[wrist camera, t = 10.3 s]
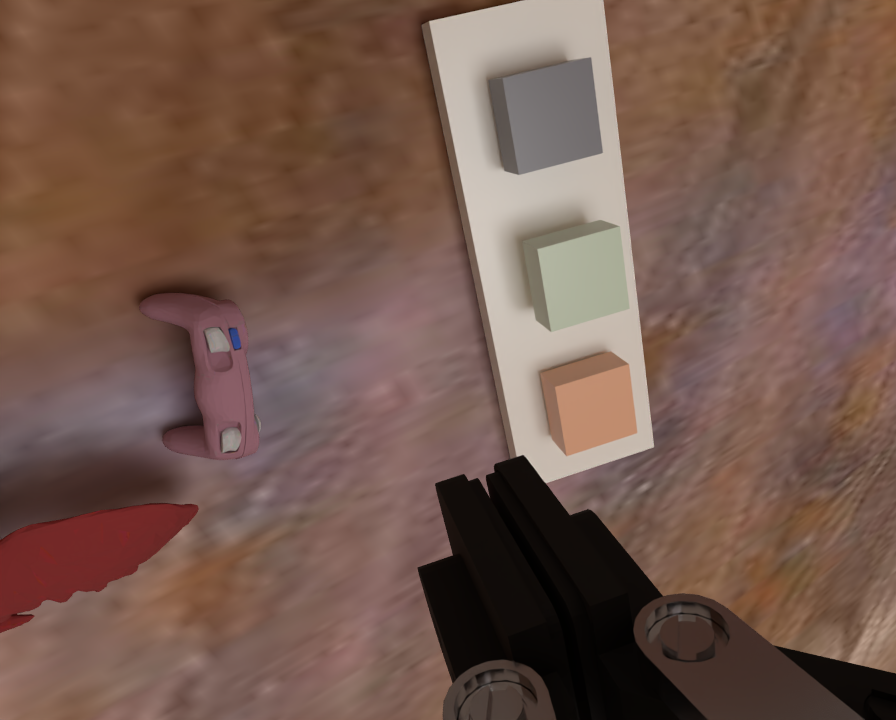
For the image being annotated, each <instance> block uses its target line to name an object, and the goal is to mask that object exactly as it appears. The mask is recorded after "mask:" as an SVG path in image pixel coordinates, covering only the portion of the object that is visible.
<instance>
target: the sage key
mask: <svg viewBox="0 0 896 720" xmlns="http://www.w3.org/2000/svg"><path fill="white" fill-rule="evenodd" d="M522 244H523V250H524V255H525V261H526V267H527V273H528V278H529V284H530V290H531V296H532V301H533V307H534V313H535V319H536V321H537V322H539V323H540V324H541V325H543V326H544V327H545V328H546V329H548V330H549V331H550V332H554V331H557V330H560V329H564V328H567V327H570V326H574V325H577V324H580V323H584V322H587V321H590V320H594V319H597V318H600V317H604V316H607V315H610V314H614V313H617V312H620V311H624V310H627V309H630V307H629V299H628V291H627V282H626V274H625V265H624V257H623V248H622V240H621V232H620V226H618V225H615V224H612V223H609V222H606V221H603V220H597V221H594V222H590V223H586V224H583V225H579V226H576V227H572V228H568V229H565V230H561V231H557V232H554V233H550V234H547V235H543V236H539V237H536V238H532V239H528V240H525V241H522Z"/></svg>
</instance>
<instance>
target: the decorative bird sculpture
mask: <svg viewBox="0 0 896 720" xmlns="http://www.w3.org/2000/svg"><path fill="white" fill-rule="evenodd" d="M198 509H199V508H198V506H197V505H194V504H184V505H179V504H169V503H150V504H144V505H137V506H130V507H125V508H120V509H109V510H100V511H96V512H92V513H87V514H83V515H79V516H75V517H71V518H67V519H61V520H56V521H50V522H43V523H37V524H32V525H29V526H26V527H23V528H21V529H18V530H16V531H14V532H12V533H10V534H9V535H7V536H6V537H4V538H3V539H1V540H0V633H2V632H4V631H7V630H9V629H12V628H15V627H18V626H20V625H22V624H24V623H26V622H29V621H30V620H31V619H32V618H33V617H34V615H31V614H29V615H17V613H21V612H25V611H30V610H33V609H35V608H37V607H39V606H40V605H41V603H42V602H43V601H45V600H53V601H56V602H60V603H62V602H66V601H67V600H68V599H69V598H70V597H71V596H72V594H73V593H74V592H76V591H78V590H79V591H85V592H88V591H96V592H99V591H101V590H103V589H104V588H105V587H106V586H107V583H108V582H110V581H113V580H117V579H119V578H122V577H124V576H127V575H131V574H133V573H134V572H135V571H137V569H138V565H139V564H141V563H143V562H145V561H147V560H148V559H149V558H150V557H152V556H153V555H154V554H156V553H157V552H158V551H159V550H160V549H161V548H162V547H163V546H164V545H165V544H166V543H167V542H168V541H169V540H170V539H172V538H173V537H174V536H175V535H176V534H177V533H178V532H179V531H180V530H181V529H182V528H183V527H184V526H185V525H187V524H189V522H190V521H191V519H192V518H193V517H194V516H195V515H196V513H197V512H198Z"/></svg>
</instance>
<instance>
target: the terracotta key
mask: <svg viewBox="0 0 896 720" xmlns="http://www.w3.org/2000/svg"><path fill="white" fill-rule="evenodd" d="M540 375H541V380H542V386H543V392H544V397H545V403H546V409H547V414H548V420H549V426H550V431H551V437H552V440H553V441H554V442H555V444H556V445H557V446H558V447H559V448H560V449H561V450H562V452H563V453H564V454H565V455H566V456H569V455H572V454H575V453H578V452H581V451H584V450H588V449H591V448H594V447H597V446H600V445H603V444H606V443H609V442H612V441H615V440H618V439H621V438H624V437H627V436H630V435H633V434H636V433H637V425H636V417H635V409H634V400H633V392H632V384H631V376H630V368H629V364H628V363H627V362H625V361H624V360H623V359H621V358H620V357H618V356H617V355H615V354H614V353H613V352H611V351H610V352H607V353H604V354H600V355H597V356H594V357H591V358H587V359H584V360H581V361H578V362H574V363H571V364H568V365H565V366H561V367H558V368H555V369H552V370H548V371H545V372H542V373H540Z"/></svg>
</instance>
